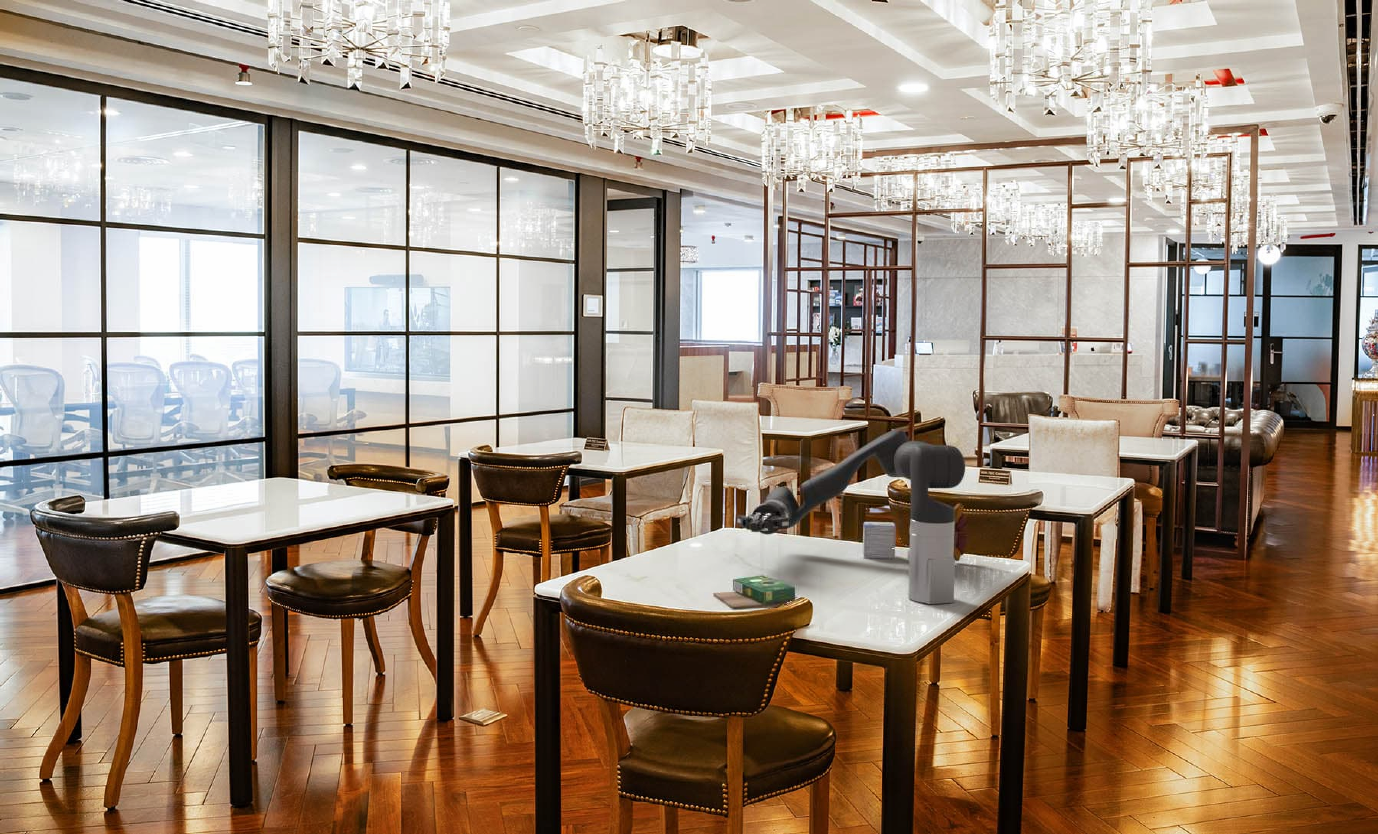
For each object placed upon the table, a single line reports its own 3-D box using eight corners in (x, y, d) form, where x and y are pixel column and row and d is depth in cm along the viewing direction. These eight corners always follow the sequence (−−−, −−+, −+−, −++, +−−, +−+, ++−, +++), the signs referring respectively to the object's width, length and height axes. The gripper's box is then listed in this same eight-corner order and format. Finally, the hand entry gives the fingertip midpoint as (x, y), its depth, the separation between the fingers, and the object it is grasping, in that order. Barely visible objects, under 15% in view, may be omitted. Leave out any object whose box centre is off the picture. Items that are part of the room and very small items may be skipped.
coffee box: (731, 591, 237) (764, 605, 225) (731, 578, 236) (764, 591, 225) (762, 587, 240) (796, 600, 229) (762, 574, 240) (796, 586, 229)
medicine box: (893, 555, 278) (894, 522, 278) (895, 559, 274) (896, 525, 273) (862, 554, 279) (863, 521, 279) (863, 558, 275) (864, 524, 274)
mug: (897, 562, 271) (899, 502, 269) (953, 558, 276) (955, 499, 275) (921, 571, 260) (923, 509, 259) (979, 567, 266) (981, 506, 265)
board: (804, 603, 228) (804, 601, 228) (732, 609, 223) (732, 606, 223) (781, 590, 240) (781, 588, 240) (713, 595, 235) (713, 593, 235)
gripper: (797, 533, 263) (782, 545, 246) (744, 529, 267) (726, 541, 250) (797, 502, 262) (783, 512, 246) (744, 499, 266) (726, 509, 250)
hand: (754, 527), depth 248 cm, fingers closed
